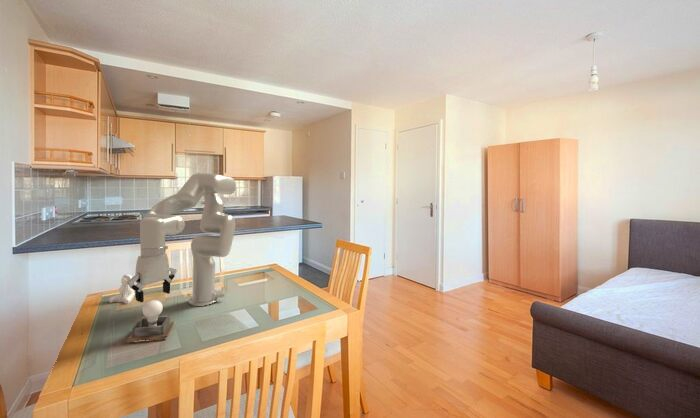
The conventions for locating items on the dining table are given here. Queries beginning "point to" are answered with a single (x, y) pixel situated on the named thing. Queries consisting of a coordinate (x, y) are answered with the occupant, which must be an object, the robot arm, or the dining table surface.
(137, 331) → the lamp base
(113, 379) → the dining table surface
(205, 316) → the dining table surface
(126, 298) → the sitting furry creature
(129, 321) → the dining table surface
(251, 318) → the dining table surface
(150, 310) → the lightbulb
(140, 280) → the robot arm
